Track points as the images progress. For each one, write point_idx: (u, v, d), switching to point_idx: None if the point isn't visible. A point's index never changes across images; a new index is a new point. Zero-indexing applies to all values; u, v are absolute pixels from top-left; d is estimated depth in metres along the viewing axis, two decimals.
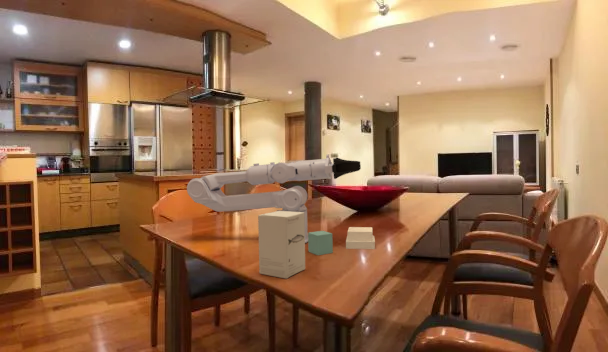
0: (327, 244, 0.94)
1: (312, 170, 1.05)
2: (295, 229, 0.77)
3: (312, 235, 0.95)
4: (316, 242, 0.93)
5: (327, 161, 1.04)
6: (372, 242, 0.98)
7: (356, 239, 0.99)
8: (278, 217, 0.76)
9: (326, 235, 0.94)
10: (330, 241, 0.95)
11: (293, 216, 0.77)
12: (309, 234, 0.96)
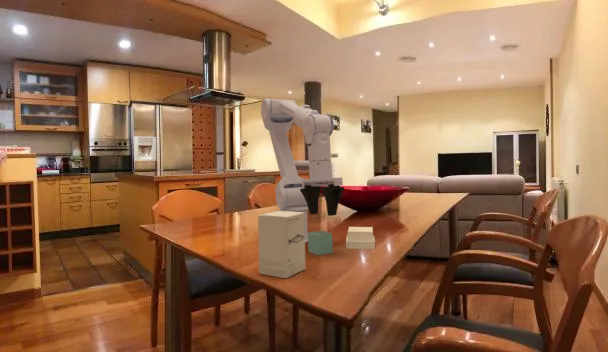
0: (327, 244, 0.94)
1: None
2: (295, 229, 0.77)
3: (312, 235, 0.95)
4: (316, 242, 0.93)
5: (307, 181, 0.97)
6: (372, 242, 0.98)
7: (356, 239, 0.99)
8: (278, 217, 0.76)
9: (326, 235, 0.94)
10: (330, 241, 0.95)
11: (293, 216, 0.77)
12: (309, 234, 0.96)
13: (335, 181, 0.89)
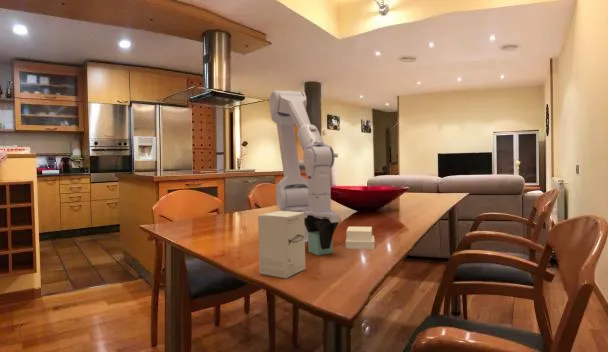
0: None
1: None
2: (295, 229, 0.77)
3: (312, 235, 0.95)
4: (316, 242, 0.93)
5: (306, 211, 0.97)
6: (372, 242, 0.98)
7: (355, 239, 0.99)
8: (278, 217, 0.76)
9: None
10: None
11: (293, 216, 0.77)
12: (309, 234, 0.96)
13: (331, 218, 0.89)
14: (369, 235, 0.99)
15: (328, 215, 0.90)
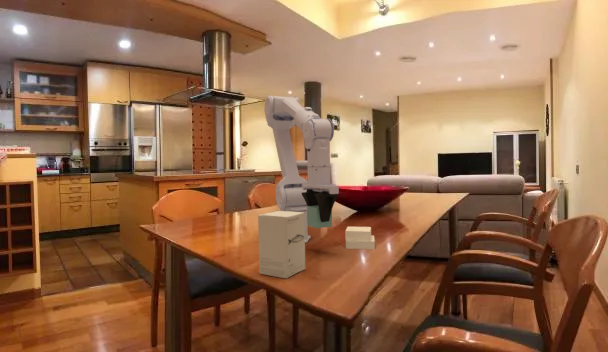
0: None
1: None
2: (295, 229, 0.77)
3: (311, 208, 0.94)
4: (315, 215, 0.93)
5: None
6: (372, 242, 0.98)
7: (354, 239, 0.99)
8: (278, 217, 0.76)
9: None
10: None
11: (293, 216, 0.77)
12: (308, 207, 0.96)
13: (331, 189, 0.89)
14: (368, 235, 0.98)
15: (327, 187, 0.89)
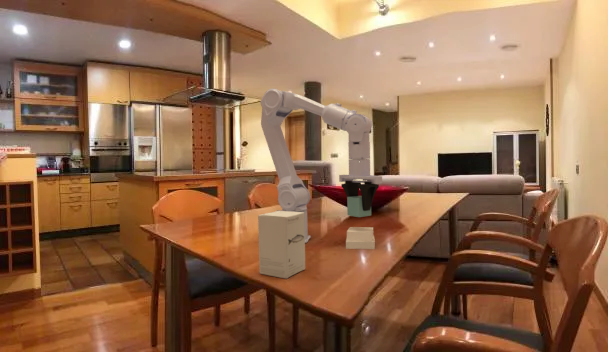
0: None
1: None
2: (295, 229, 0.78)
3: (352, 198, 1.00)
4: (357, 205, 0.99)
5: (345, 177, 1.03)
6: (372, 242, 0.98)
7: (355, 239, 0.99)
8: (278, 217, 0.76)
9: None
10: None
11: (293, 216, 0.77)
12: (349, 198, 1.01)
13: (376, 179, 0.95)
14: (369, 236, 0.98)
15: (372, 177, 0.96)
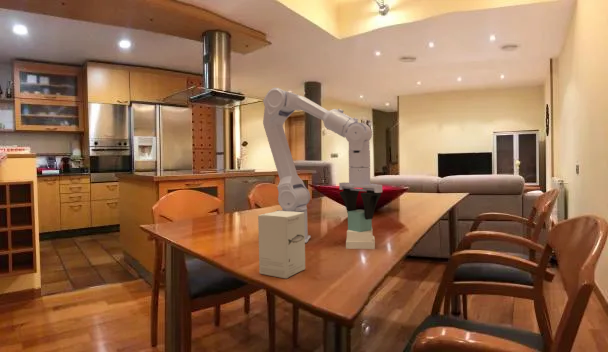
0: (367, 221, 1.00)
1: None
2: (295, 229, 0.78)
3: (353, 213, 1.00)
4: (358, 220, 0.99)
5: (346, 185, 1.03)
6: (372, 242, 0.98)
7: (355, 239, 0.99)
8: (278, 217, 0.76)
9: None
10: None
11: (293, 216, 0.77)
12: (349, 213, 1.01)
13: (376, 188, 0.95)
14: (370, 236, 0.98)
15: (372, 186, 0.96)
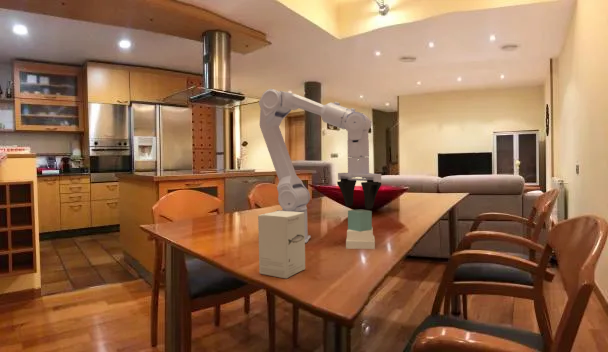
0: (367, 221, 1.00)
1: None
2: (295, 229, 0.77)
3: (353, 213, 1.00)
4: (358, 219, 0.99)
5: (344, 175, 1.03)
6: (372, 242, 0.98)
7: (355, 239, 0.99)
8: (278, 217, 0.76)
9: (367, 212, 1.00)
10: (370, 218, 1.01)
11: (293, 216, 0.77)
12: (349, 212, 1.01)
13: (375, 177, 0.96)
14: (370, 235, 0.98)
15: (371, 175, 0.96)
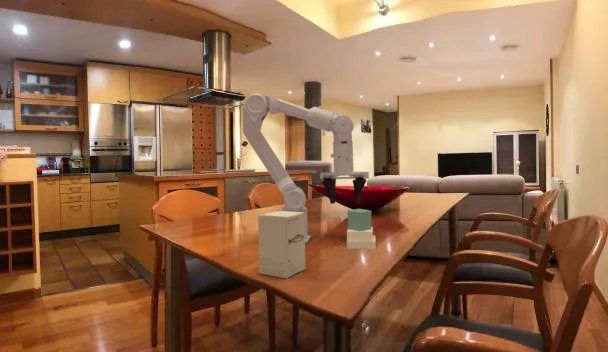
0: (367, 221, 1.01)
1: None
2: (295, 229, 0.78)
3: (353, 212, 1.00)
4: (358, 219, 0.99)
5: (331, 174, 1.10)
6: (373, 242, 0.98)
7: (355, 239, 0.99)
8: (278, 217, 0.76)
9: (366, 212, 1.00)
10: (369, 218, 1.01)
11: (293, 216, 0.77)
12: (349, 212, 1.02)
13: (365, 175, 1.06)
14: (370, 235, 0.98)
15: (361, 173, 1.06)
